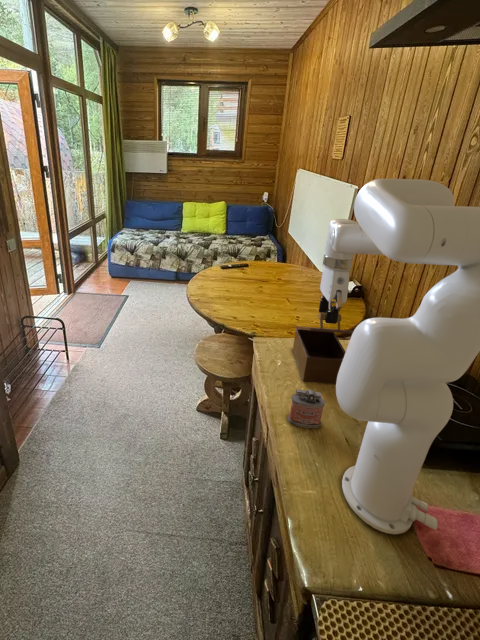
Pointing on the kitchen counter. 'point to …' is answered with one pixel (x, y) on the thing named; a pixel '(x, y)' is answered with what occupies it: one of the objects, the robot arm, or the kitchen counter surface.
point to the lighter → (306, 409)
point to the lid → (322, 317)
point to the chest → (318, 355)
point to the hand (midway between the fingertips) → (327, 317)
